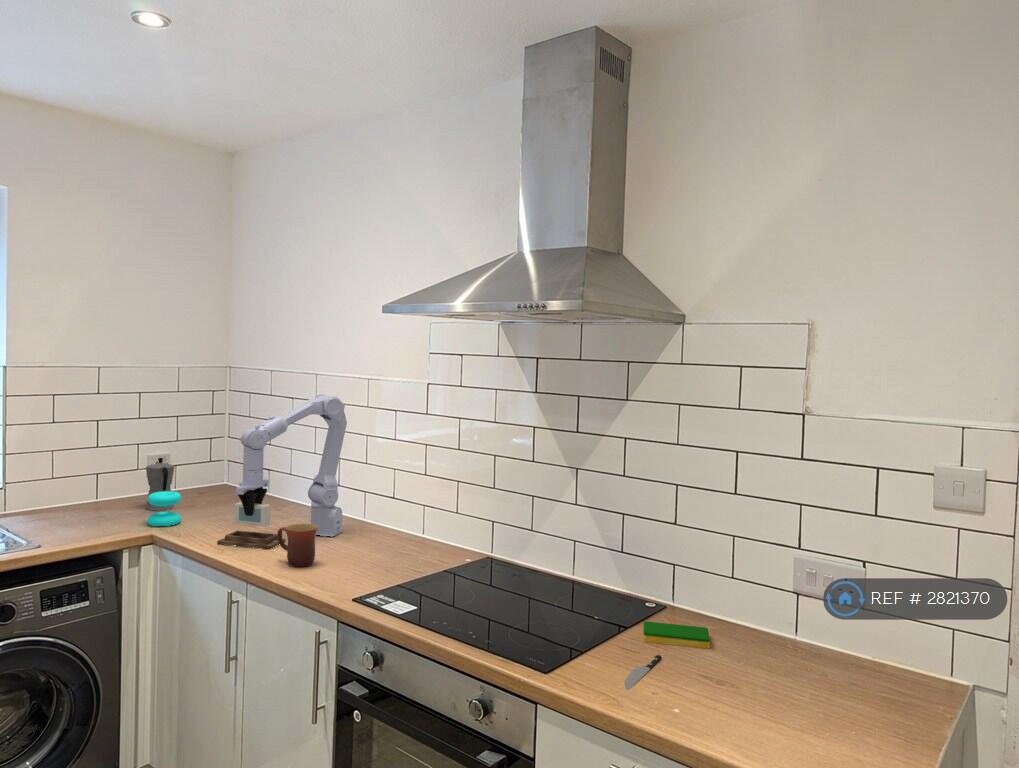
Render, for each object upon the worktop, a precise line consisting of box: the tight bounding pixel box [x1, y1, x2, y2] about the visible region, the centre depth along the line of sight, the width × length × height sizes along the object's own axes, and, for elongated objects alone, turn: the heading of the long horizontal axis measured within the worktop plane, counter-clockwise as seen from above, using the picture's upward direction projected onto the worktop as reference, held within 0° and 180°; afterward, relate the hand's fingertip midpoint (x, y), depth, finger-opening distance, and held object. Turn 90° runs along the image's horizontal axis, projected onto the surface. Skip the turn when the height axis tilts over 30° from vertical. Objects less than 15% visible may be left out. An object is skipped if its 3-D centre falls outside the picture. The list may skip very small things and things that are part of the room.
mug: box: [276, 523, 318, 568], centre depth 205 cm, size 12×9×10 cm
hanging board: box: [216, 529, 286, 550], centre depth 223 cm, size 17×9×2 cm, turn 78°
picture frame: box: [233, 501, 271, 528], centre depth 223 cm, size 10×3×6 cm, turn 78°
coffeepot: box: [145, 457, 176, 512], centre depth 262 cm, size 15×9×18 cm, turn 37°
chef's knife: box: [624, 654, 662, 691], centre depth 144 cm, size 19×1×3 cm
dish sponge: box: [642, 620, 711, 649], centre depth 162 cm, size 7×14×2 cm, turn 79°
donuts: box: [147, 490, 182, 527], centre depth 242 cm, size 10×10×10 cm
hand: (252, 514), depth 223 cm, fingers closed on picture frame, 3 cm apart
